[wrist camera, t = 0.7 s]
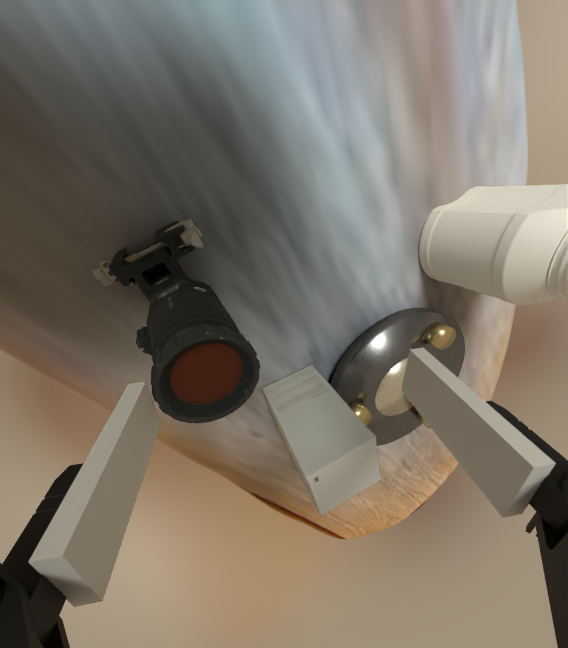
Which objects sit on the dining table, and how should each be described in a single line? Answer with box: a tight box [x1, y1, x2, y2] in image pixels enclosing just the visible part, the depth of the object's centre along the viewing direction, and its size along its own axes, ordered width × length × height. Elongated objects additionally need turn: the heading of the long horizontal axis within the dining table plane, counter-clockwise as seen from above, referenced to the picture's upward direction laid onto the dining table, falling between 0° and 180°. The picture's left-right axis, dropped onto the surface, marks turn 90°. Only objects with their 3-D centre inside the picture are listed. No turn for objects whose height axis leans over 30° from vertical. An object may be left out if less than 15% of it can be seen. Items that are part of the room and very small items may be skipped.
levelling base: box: [331, 308, 465, 446], centre depth 38 cm, size 22×22×6 cm
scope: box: [92, 218, 260, 423], centre depth 19 cm, size 8×14×10 cm
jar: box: [419, 184, 568, 305], centre depth 28 cm, size 12×10×15 cm
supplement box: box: [262, 365, 380, 516], centre depth 30 cm, size 7×7×13 cm
